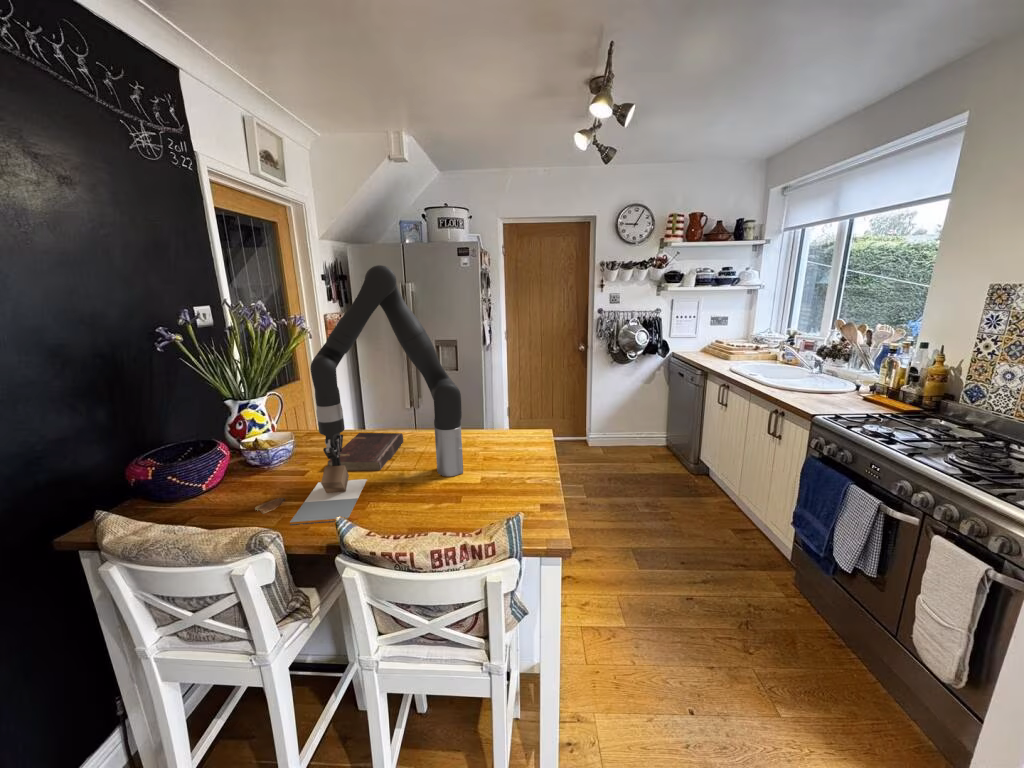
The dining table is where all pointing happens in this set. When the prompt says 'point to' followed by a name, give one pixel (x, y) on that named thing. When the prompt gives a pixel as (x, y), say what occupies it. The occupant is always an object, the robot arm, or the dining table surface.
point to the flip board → (329, 503)
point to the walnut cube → (335, 479)
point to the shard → (270, 505)
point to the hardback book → (369, 450)
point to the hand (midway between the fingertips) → (336, 467)
